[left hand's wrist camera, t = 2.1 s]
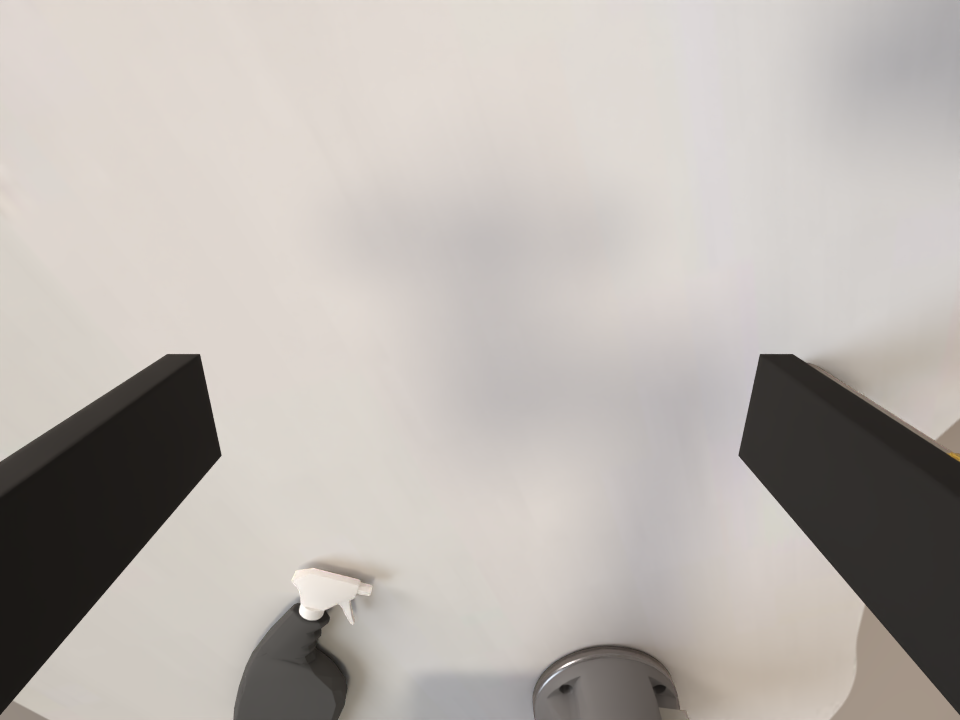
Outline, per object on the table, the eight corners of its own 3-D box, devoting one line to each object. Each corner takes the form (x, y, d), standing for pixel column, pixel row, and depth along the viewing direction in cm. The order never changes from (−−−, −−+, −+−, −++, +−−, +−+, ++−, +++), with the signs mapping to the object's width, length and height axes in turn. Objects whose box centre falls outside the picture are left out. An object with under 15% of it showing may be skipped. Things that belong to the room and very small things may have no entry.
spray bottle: (233, 716, 58) (279, 548, 49) (329, 739, 59) (390, 578, 51) (220, 744, 55) (267, 571, 47) (322, 767, 56) (385, 602, 48)
